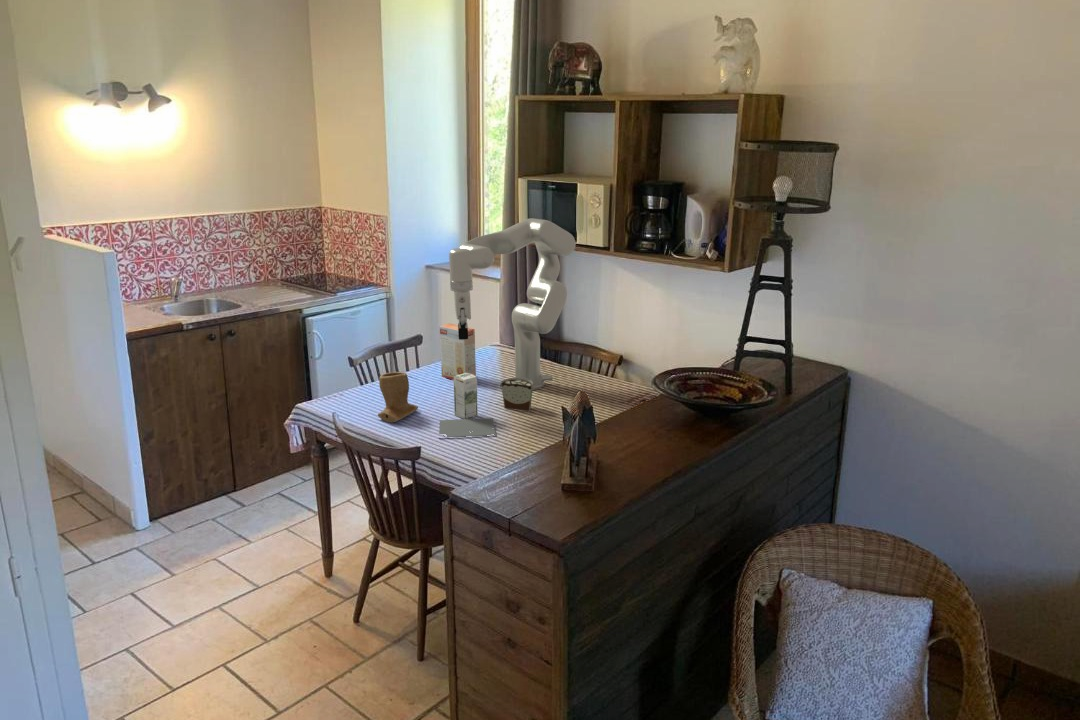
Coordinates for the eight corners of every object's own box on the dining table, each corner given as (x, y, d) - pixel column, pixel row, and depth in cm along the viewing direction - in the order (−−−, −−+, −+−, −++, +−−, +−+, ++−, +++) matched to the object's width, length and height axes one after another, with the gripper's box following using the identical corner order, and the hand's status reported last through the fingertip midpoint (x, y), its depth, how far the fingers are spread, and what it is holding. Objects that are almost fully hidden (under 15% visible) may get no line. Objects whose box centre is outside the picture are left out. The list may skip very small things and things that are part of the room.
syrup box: (467, 411, 275) (466, 371, 270) (478, 415, 271) (477, 375, 266) (454, 415, 271) (452, 375, 267) (465, 420, 267) (463, 379, 263)
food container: (539, 406, 280) (539, 379, 277) (533, 412, 274) (533, 384, 271) (506, 402, 283) (506, 375, 280) (500, 408, 278) (499, 381, 275)
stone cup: (394, 406, 280) (391, 365, 276) (422, 410, 276) (420, 370, 271) (368, 420, 267) (365, 378, 263) (397, 425, 262) (395, 383, 258)
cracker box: (477, 380, 306) (475, 328, 300) (465, 384, 302) (463, 331, 296) (452, 373, 315) (450, 322, 309) (441, 376, 311) (438, 325, 305)
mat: (493, 419, 268) (493, 417, 268) (495, 436, 253) (495, 434, 253) (439, 421, 266) (439, 420, 266) (439, 439, 252) (439, 437, 251)
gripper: (473, 290, 260) (474, 343, 265) (471, 279, 276) (473, 330, 281) (450, 291, 259) (452, 344, 264) (450, 280, 275) (452, 330, 281)
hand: (463, 336), depth 273 cm, fingers open, 5 cm apart
